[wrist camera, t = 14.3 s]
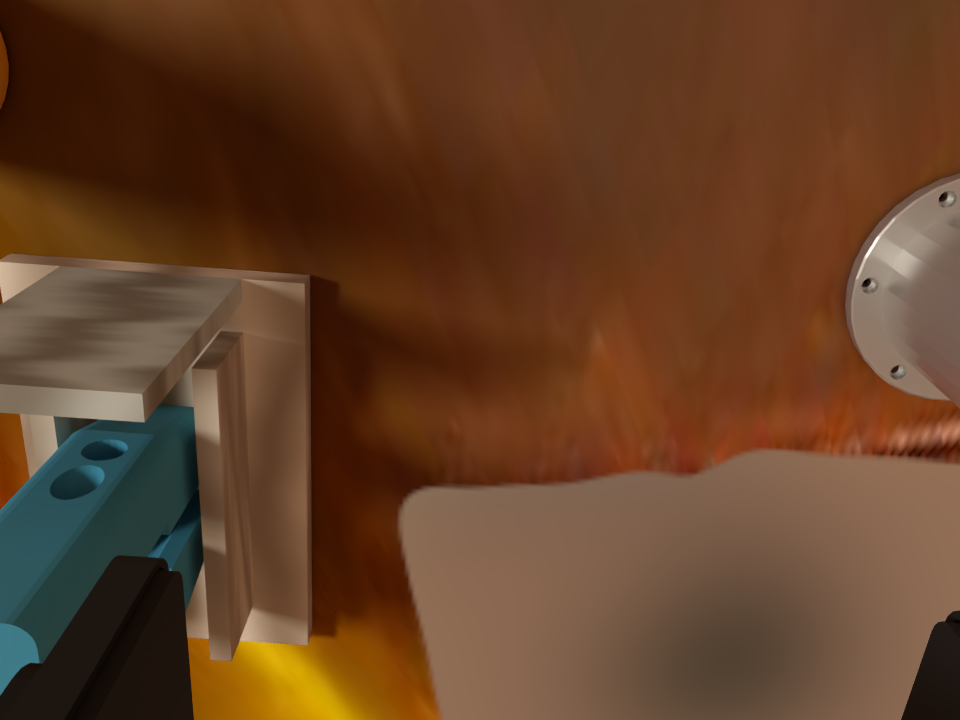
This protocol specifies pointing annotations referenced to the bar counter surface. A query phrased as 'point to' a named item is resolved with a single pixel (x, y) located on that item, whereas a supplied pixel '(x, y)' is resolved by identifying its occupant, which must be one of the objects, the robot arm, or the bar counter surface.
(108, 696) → the robot arm
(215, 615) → the book stand
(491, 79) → the bar counter surface
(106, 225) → the bar counter surface
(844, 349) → the bar counter surface
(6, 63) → the beer bottle
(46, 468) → the block
